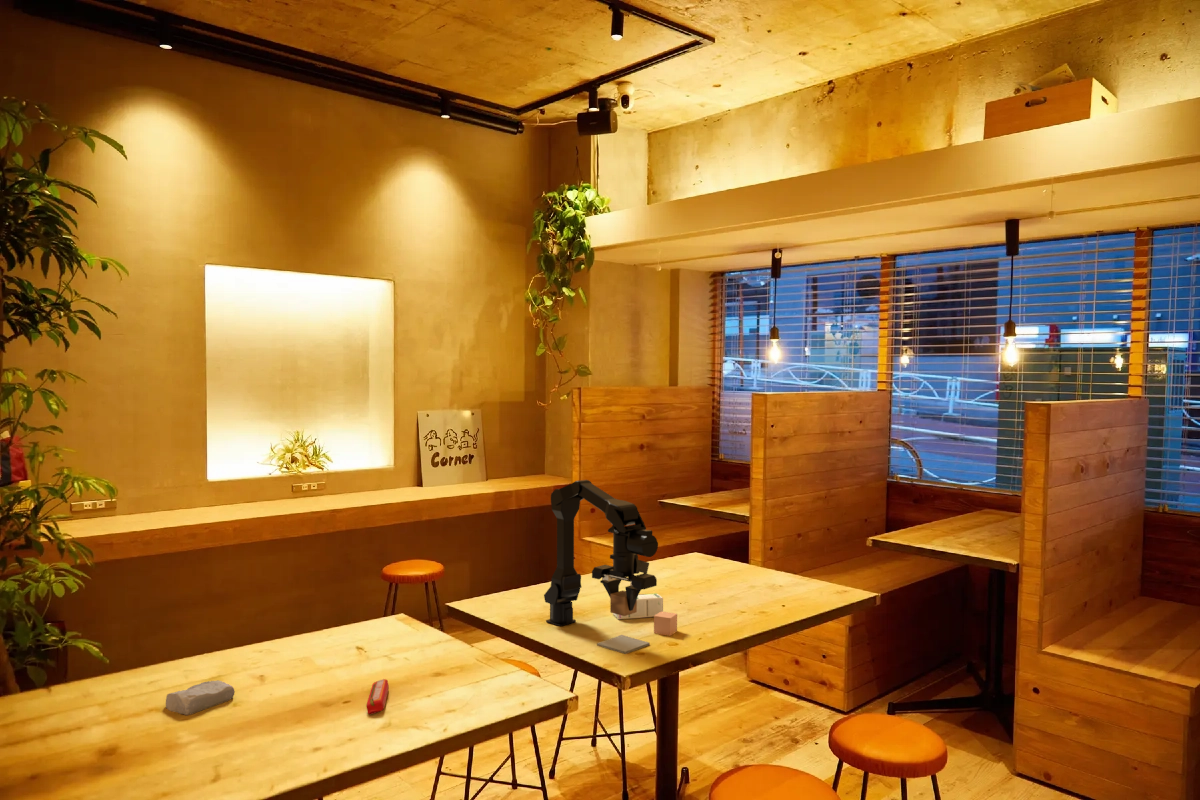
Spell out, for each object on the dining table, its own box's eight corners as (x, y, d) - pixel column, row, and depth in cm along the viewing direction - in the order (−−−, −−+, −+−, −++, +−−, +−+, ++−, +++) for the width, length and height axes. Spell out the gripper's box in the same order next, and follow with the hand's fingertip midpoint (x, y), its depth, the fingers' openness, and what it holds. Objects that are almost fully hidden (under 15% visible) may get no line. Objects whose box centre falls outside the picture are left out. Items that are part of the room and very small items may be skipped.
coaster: (597, 645, 219) (597, 643, 219) (621, 636, 227) (621, 634, 227) (625, 654, 213) (625, 651, 213) (649, 644, 220) (649, 642, 220)
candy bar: (373, 689, 188) (373, 676, 188) (389, 688, 189) (389, 675, 189) (365, 718, 173) (365, 704, 173) (383, 716, 173) (383, 702, 173)
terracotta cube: (653, 633, 230) (654, 615, 230) (660, 628, 235) (661, 611, 235) (670, 635, 228) (670, 618, 228) (677, 631, 233) (677, 613, 232)
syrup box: (663, 597, 246) (617, 599, 243) (663, 616, 246) (616, 619, 243) (657, 593, 252) (612, 595, 248) (657, 612, 252) (611, 614, 248)
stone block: (160, 716, 177) (187, 717, 172) (158, 694, 178) (185, 694, 173) (211, 700, 187) (238, 700, 182) (209, 679, 188) (236, 678, 183)
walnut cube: (610, 612, 219) (610, 593, 219) (622, 608, 223) (622, 590, 223) (624, 616, 216) (624, 597, 216) (636, 612, 220) (636, 593, 220)
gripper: (669, 551, 219) (669, 609, 219) (617, 541, 231) (617, 596, 232) (643, 557, 210) (642, 618, 211) (590, 547, 223) (590, 604, 224)
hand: (623, 608), depth 219 cm, fingers closed on walnut cube, 5 cm apart
